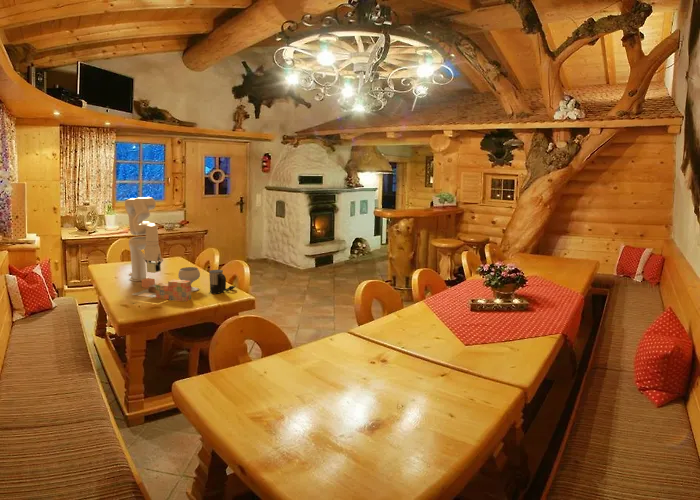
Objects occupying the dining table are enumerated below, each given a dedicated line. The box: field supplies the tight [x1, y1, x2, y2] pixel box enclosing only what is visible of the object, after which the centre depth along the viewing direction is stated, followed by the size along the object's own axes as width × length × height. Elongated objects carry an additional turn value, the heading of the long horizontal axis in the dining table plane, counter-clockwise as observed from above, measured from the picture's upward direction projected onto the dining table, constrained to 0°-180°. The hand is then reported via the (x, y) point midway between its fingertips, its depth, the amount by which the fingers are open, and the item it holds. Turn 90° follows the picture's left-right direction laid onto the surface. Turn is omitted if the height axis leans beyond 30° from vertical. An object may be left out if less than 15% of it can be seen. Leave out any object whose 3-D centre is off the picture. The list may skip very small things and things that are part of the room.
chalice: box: [177, 266, 201, 293], centre depth 337 cm, size 14×14×15 cm
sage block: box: [146, 261, 162, 274], centre depth 328 cm, size 6×6×6 cm
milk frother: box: [208, 269, 236, 295], centre depth 335 cm, size 14×16×15 cm
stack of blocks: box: [155, 279, 192, 302], centre depth 316 cm, size 21×6×12 cm, turn 79°
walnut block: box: [147, 283, 158, 293], centre depth 331 cm, size 6×6×4 cm
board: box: [131, 288, 156, 298], centre depth 327 cm, size 18×17×1 cm
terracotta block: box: [141, 277, 156, 289], centre depth 342 cm, size 6×6×6 cm
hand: (153, 270), depth 328 cm, fingers closed on sage block, 6 cm apart
